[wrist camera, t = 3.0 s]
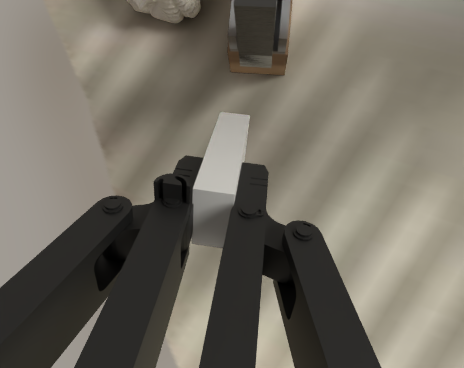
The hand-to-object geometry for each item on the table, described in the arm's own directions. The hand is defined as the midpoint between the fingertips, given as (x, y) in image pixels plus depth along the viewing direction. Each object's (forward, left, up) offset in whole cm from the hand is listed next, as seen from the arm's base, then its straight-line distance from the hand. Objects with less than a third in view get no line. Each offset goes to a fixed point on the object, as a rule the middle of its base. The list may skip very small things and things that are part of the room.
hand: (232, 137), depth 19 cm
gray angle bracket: (-17, -8, -17) cm, 26 cm away
